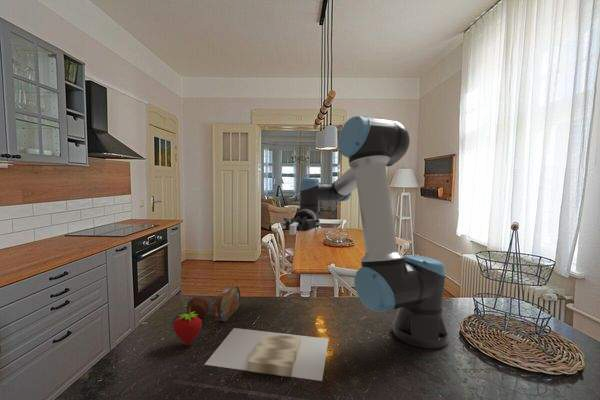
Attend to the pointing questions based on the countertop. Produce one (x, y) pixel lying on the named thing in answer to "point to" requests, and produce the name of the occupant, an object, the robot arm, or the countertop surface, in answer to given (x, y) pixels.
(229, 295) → the tin
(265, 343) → the board
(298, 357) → the mat
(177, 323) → the strawberry
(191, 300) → the potato
